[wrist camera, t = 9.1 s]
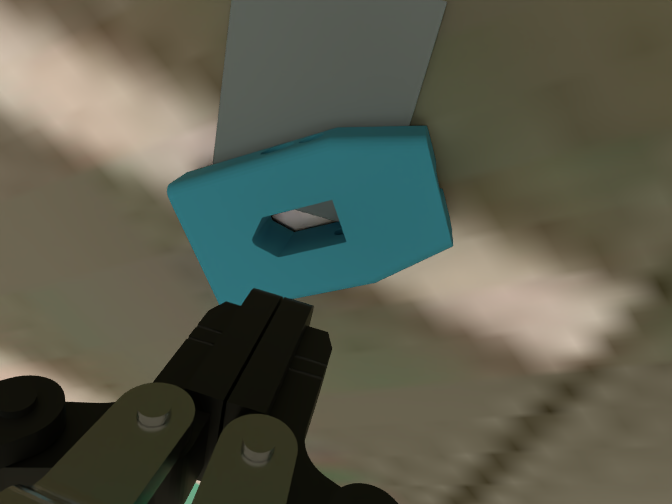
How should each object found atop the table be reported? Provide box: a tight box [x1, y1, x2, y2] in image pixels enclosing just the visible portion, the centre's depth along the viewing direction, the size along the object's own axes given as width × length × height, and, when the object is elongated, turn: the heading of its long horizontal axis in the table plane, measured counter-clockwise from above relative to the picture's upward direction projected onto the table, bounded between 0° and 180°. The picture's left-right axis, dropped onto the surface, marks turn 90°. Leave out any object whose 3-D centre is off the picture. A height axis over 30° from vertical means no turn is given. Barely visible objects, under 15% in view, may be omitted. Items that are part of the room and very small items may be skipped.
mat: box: [213, 0, 447, 222], centre depth 38 cm, size 15×18×1 cm
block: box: [167, 126, 453, 306], centre depth 39 cm, size 12×5×20 cm
